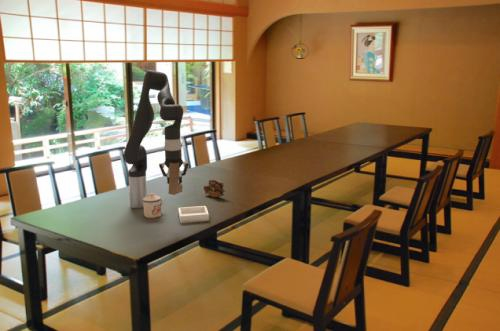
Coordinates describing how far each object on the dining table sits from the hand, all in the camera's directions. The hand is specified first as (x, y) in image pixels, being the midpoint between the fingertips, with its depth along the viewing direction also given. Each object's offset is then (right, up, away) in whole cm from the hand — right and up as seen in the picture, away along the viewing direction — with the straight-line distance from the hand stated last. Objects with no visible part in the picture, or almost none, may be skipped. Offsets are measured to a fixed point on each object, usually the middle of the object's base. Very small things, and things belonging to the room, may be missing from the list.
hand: (174, 184), depth 232 cm
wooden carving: (+15, -10, +52) cm, 55 cm away
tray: (+7, -17, +17) cm, 25 cm away
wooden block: (0, -4, +1) cm, 4 cm away
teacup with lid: (-14, -17, +23) cm, 32 cm away
